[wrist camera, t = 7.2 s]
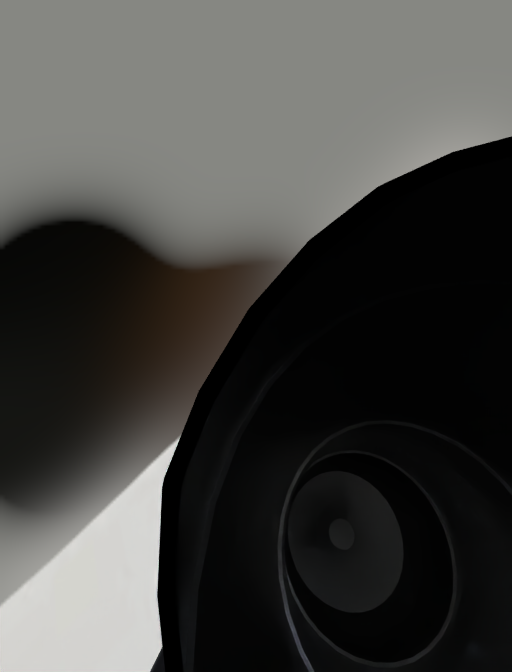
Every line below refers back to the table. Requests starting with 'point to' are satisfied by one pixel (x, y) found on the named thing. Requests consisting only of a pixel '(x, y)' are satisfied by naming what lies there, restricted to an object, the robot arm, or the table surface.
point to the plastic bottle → (358, 448)
